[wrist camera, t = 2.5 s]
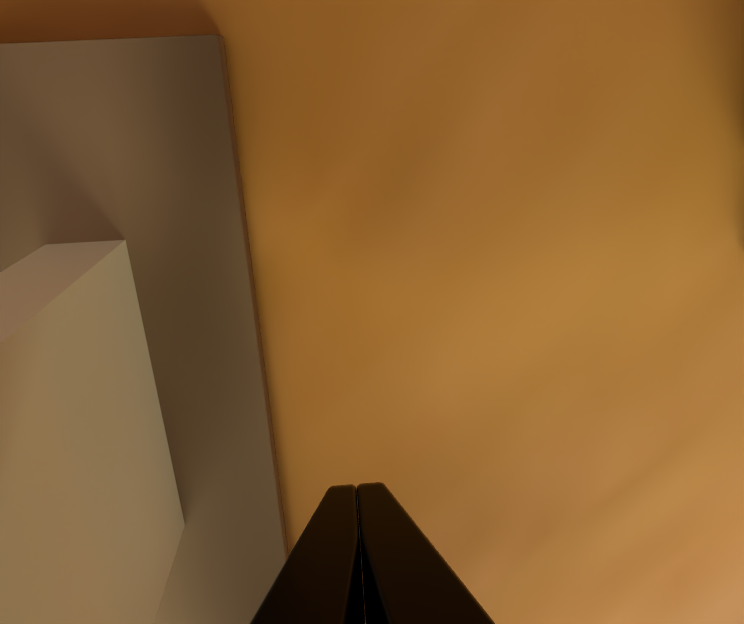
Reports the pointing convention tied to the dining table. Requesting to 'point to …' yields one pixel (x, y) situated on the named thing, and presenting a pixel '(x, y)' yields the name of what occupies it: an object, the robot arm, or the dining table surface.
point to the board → (161, 275)
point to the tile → (81, 444)
